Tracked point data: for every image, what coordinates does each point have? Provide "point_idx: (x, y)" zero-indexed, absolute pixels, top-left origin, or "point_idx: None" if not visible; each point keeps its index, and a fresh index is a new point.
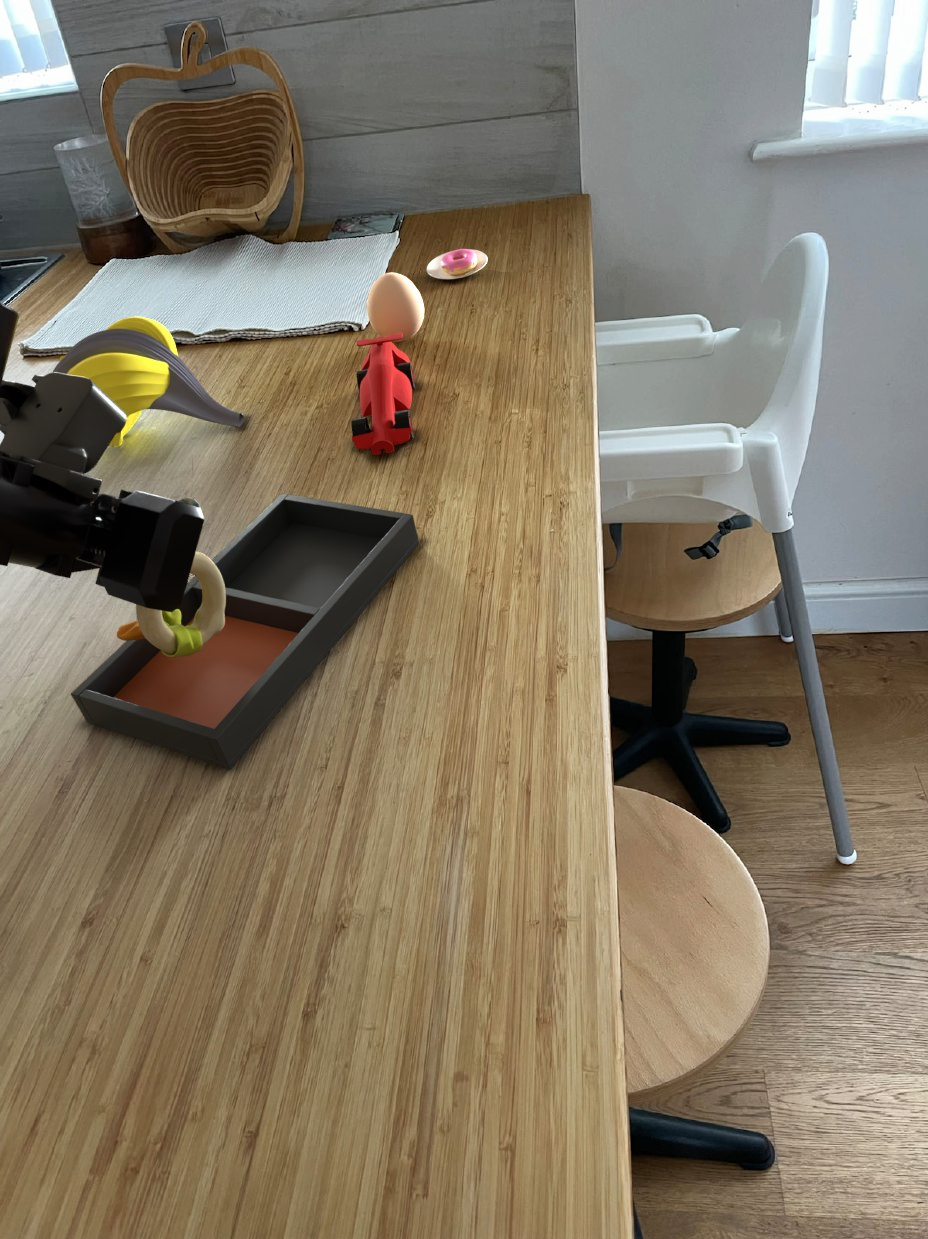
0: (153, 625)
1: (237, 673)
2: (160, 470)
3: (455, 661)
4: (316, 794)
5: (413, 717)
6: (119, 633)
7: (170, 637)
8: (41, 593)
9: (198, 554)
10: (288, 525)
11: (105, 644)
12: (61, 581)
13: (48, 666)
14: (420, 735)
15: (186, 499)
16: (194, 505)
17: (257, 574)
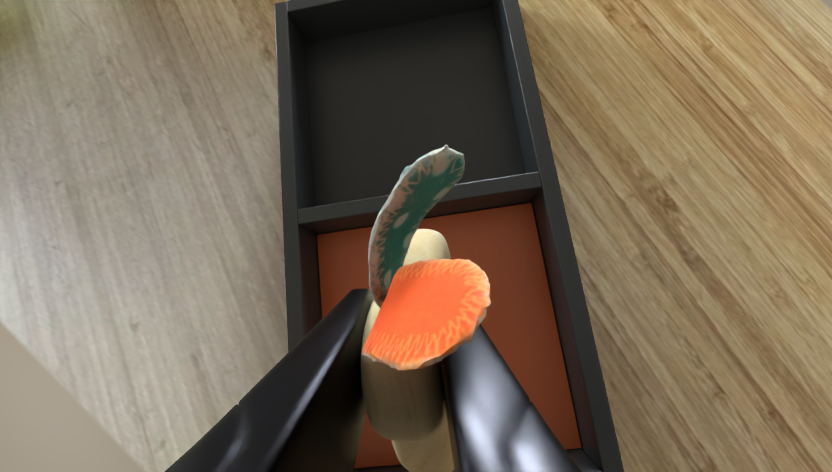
0: None
1: None
2: (38, 42)
3: (724, 150)
4: (752, 439)
5: (757, 258)
6: None
7: None
8: (50, 306)
9: (435, 254)
10: (305, 49)
11: (223, 345)
12: (61, 274)
13: (174, 419)
14: (794, 281)
15: (427, 168)
16: (452, 169)
17: (337, 142)
